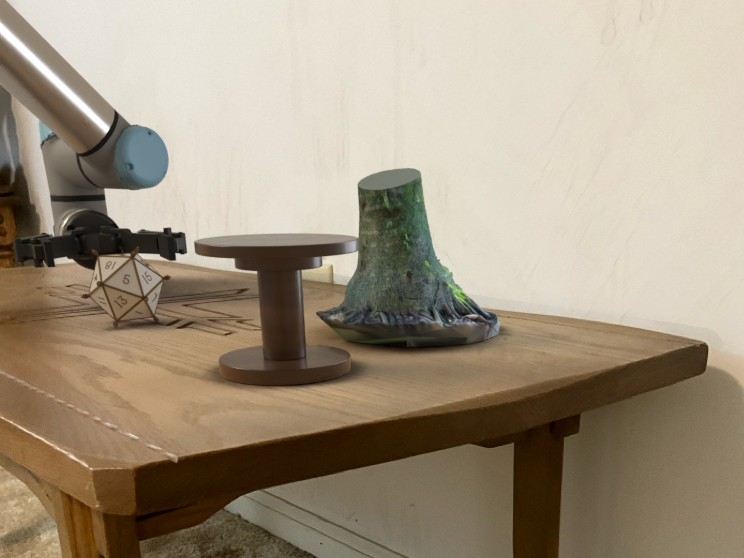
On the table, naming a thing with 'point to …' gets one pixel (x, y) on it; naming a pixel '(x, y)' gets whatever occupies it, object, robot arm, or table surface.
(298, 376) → the pedestal stand
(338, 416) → the table surface
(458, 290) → the tree stump
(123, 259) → the game die
